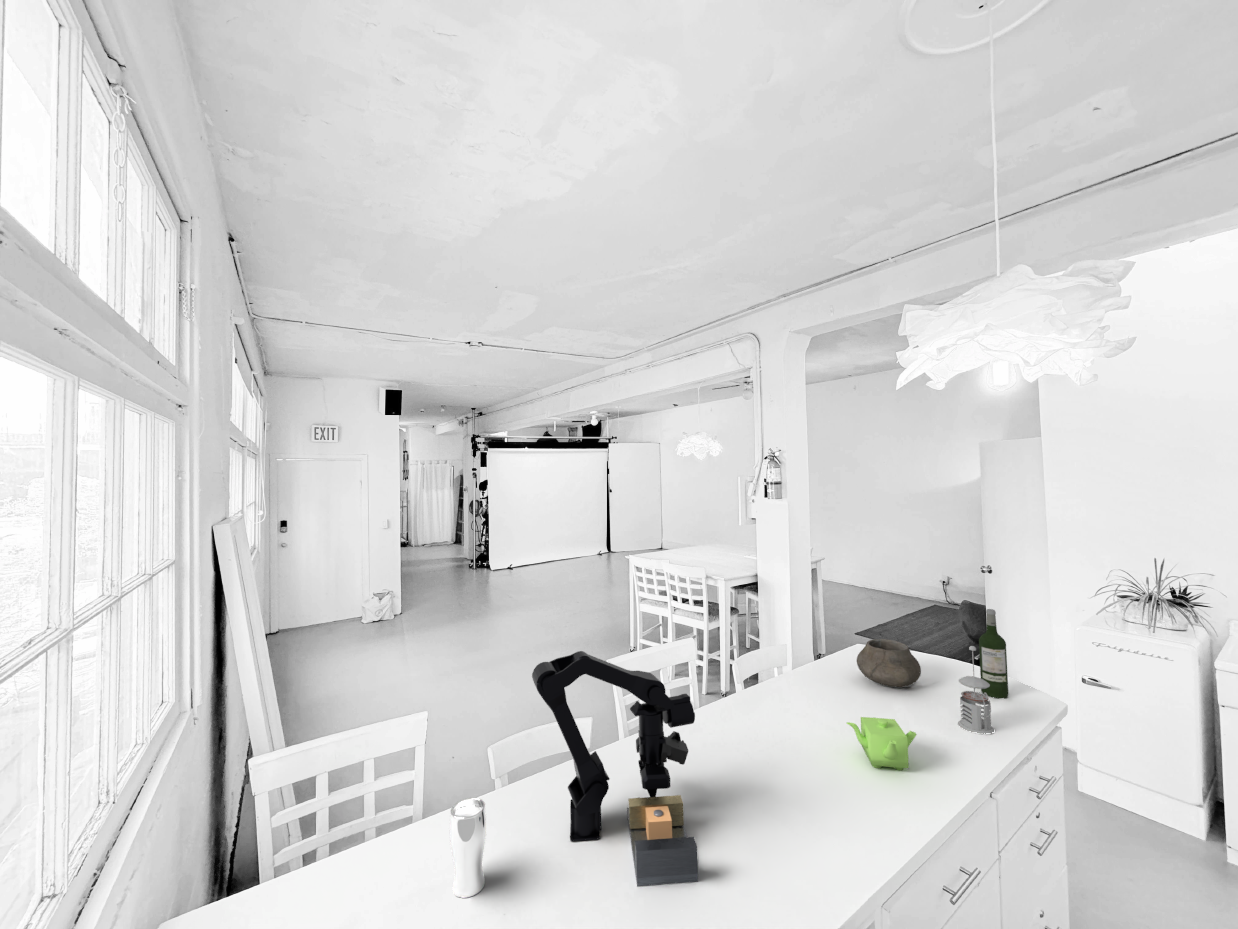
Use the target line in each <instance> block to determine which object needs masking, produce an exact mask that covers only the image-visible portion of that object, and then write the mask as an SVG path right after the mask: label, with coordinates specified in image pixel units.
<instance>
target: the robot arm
mask: <svg viewBox="0 0 1238 929" xmlns="http://www.w3.org/2000/svg"><path fill="white" fill-rule="evenodd" d="M583 675H587V676H590V677H591V678H594V679H598V680H600V681H602V682H604V683H608V684H610V685H613V686H616V687H618V688H620V689H623V690H625V691H627V692H629V693H631V694H632V695H633V696H635V697H636V698H637V699H639V700H641V701H642V702H644V703H641V702H639V700H636V701H635V702H634V704H633V705H631V706H630V708H629V710H630V712H631V713H632V714H633V716H635V717H638V732H637V733H638V737H637V738H636V739H635V748H636V749H635V751H636V753H637V754H638V753H639V754H638V755H639V759H638V767H639V775H640V779H641V781H640V782H641V787H642V789H643V790H647V793H648V796H649V797H657V791H658V790H662V789H664V790H666V789H669V788H671V777H670V772H669V769H668V768H667V767H665V763H668V762H667V759H668V760H669V761H672V762H676V763H678V764H679V765H685V763H686V760H687V757H688V753H689V749H688V745H687V743H686V742H685V741H684V740H683V739H681V735H680V733H679V731H678V732H677V731H672V732H671V734H669V735H667V736H665V732H664V724H665V725H667V726H668V727H669V728H671V729H673V728H675V727H682V726H688V725H692V724H694V723H695V720H696V719H695V718H696V713H695V712H694V707H693V703H692V702H691V696H690V695H688V694H687V693H681V694H679V695H673V696H668V695H667V694H666V686H665V684H664V683H663V682H662V681H661V680H659V678H657V677H656V675H655V674H653V673H651V672H648V671H642V670H630V669H626V668H623V667H621V666H618V665H616V664H613V663H611V662H609V661H606V660H603V659H601V658H598V657H596V656H593V655H590V654H588V653H587V652H585V651H582V650H579V651H576V652H574V653H572V654H570V655H565V656H561V657H557V658H555V659H553V660H550V661H543V662H540V663H538V664H537V665H536V666H535V667H534V669H533V671H532V674H531V677H532V681H533V684H534V686H535V688H536V690H537V692H538V694H539V695H540V697H541V698H542V700H543V701H544V702H545V704H546V705H547V706H548V708H549V709H550V710H551V711H552V713H553V715H554V718H555V720H556V723H557V725H558V727H559V729H560V732H561V734H562V736H563V739H564V741H565V742H566V745H567V747H568V750H569V752H570V754H571V757H572V759H573V765H574V766H573V767H574V771H575V775H576V776H575V777H574V778H573V779H572V780H571V782H570V783H569V784H568V786H567V790H568V793H569V795H570V797H571V799H570V804H569V806H570V807H569V808H570V813H569V814H570V827H569V828H570V830H569V831H570V834H569V840H570V842H580V841H581V842H582V841H592V840H599V839H600V838H601V837H600V835H601V834H600V832H602V804H603V801H604V798H605V797H606V795H607V793H608V791H609V789H610V787H609V786H610V785H609V783H608V781H610V779H611V778H610V777H609V775H608V774H607V771H606V770H605V767H604V764H603V762H602V759H601V758H600V756H599V755H598V753H597V751H596V750H595V751H594V752H592V753H591V752H589V750H588V748H587V746H586V743H585V741H584V739H583V736H582V735H581V732H580V730H579V727H578V724H577V723H576V720H575V718H574V716H573V714H572V712H571V709H570V707H569V705H568V701H567V695H566V694H567V693H566V690H565V689H566V688H567V687H569V686H570V685H571V684H573V683H574V682H575V681H577V679H578V678H580V677H582V676H583Z"/></svg>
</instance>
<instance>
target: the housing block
mask: <svg viewBox="0 0 1238 929" xmlns="http://www.w3.org/2000/svg"><path fill="white" fill-rule="evenodd" d="M646 833H647V839H648V840H653V839H667V838H672V820H671V816H670V812H669V808H668V806H661V807H646Z"/></svg>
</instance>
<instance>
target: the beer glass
mask: <svg viewBox="0 0 1238 929" xmlns="http://www.w3.org/2000/svg"><path fill="white" fill-rule="evenodd" d="M449 817H450V818H449V843H450V844H449V845H450V850H451V857H452V860H453V868H454V877H453V882H452V893H453V894H454V896H456V897H458V898H462V899H466V898H471V897H473V896H476V895H477V894H478V893H480V892H481V891H482V890H483V888H484V886H485V882H486V881H485V879H486V878H485V875H484V870H483V869H484V866H483V861H484V852H485V847H486V846H485V845H486V841H487V840H486V839H487V838H486V837H487V814H486V803H485V801H484V800H483V799H481V798H479V797H467V798H463V799H460V800H459V801H457V802H456V803H455V804H453V805H452V806H451V809H450V815H449Z"/></svg>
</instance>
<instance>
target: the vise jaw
mask: <svg viewBox="0 0 1238 929" xmlns="http://www.w3.org/2000/svg"><path fill="white" fill-rule="evenodd" d="M627 800H628V808H629V824H628V826H629V825H630V829H637V828H646V807H661V806H668V808H669V812H670V816H671V820H672V826H680V825H683V826H684V825H685V823H684V822H685V821H684V801H683V798H682V795H681V794H677V795H666V796H665V795H662V796H656V797H650V796H647V797H633V798H628V799H627Z"/></svg>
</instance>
